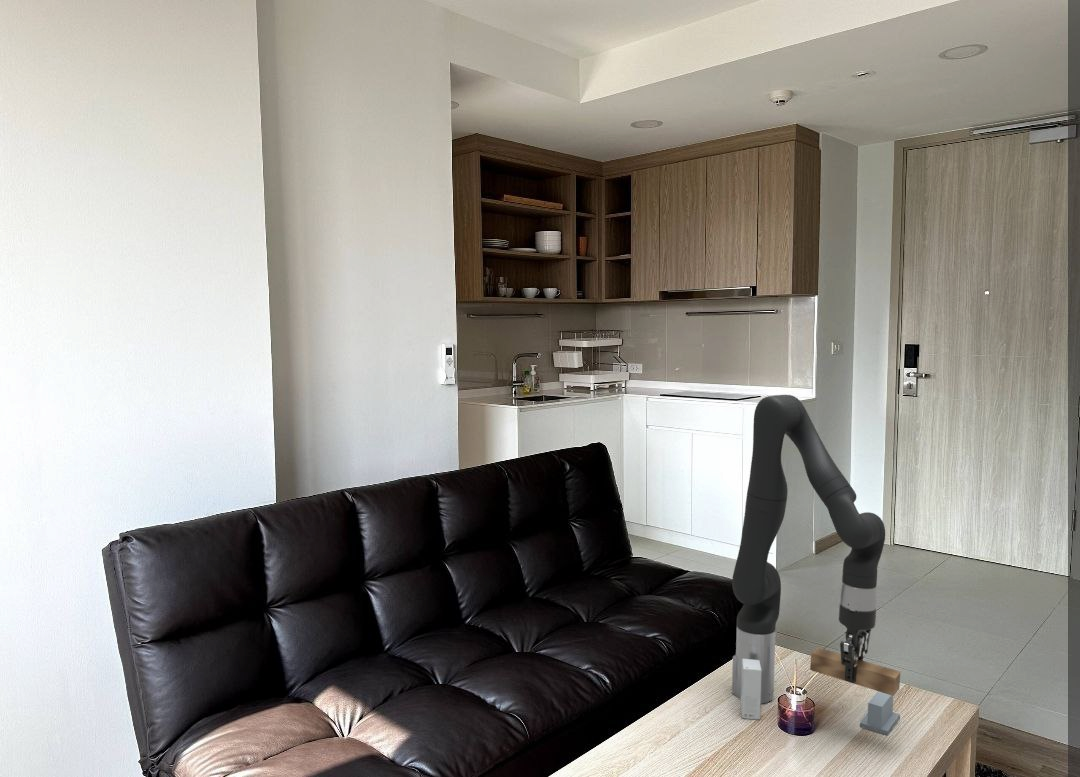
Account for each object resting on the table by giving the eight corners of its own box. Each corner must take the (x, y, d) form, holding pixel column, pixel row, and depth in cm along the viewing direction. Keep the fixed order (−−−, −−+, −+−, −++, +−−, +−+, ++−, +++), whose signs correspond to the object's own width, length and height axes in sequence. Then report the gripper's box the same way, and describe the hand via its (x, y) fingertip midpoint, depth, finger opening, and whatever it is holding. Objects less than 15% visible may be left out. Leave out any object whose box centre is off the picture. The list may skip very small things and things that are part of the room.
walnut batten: (810, 670, 176) (811, 653, 176) (816, 664, 180) (817, 647, 179) (893, 696, 165) (895, 678, 165) (899, 689, 168) (900, 671, 168)
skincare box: (760, 720, 180) (761, 670, 179) (741, 718, 181) (742, 668, 180) (758, 707, 186) (759, 659, 185) (740, 706, 187) (741, 657, 186)
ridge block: (859, 726, 177) (860, 701, 177) (873, 710, 185) (873, 685, 184) (887, 735, 173) (888, 709, 173) (899, 718, 181) (900, 693, 181)
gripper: (851, 590, 178) (846, 662, 180) (829, 608, 168) (825, 684, 169) (885, 598, 174) (880, 672, 175) (865, 617, 163) (860, 695, 164)
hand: (853, 677), depth 172 cm, fingers closed on walnut batten, 4 cm apart
